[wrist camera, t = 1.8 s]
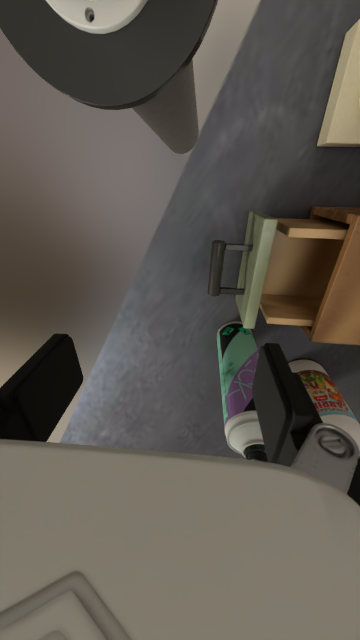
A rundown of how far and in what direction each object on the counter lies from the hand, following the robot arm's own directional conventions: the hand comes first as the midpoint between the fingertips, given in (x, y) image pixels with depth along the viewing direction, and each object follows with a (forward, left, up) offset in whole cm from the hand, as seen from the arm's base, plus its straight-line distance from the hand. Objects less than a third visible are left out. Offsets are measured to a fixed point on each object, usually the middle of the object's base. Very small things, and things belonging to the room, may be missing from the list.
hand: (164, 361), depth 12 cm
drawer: (+10, +6, -22) cm, 25 cm away
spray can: (+14, -6, -23) cm, 27 cm away
